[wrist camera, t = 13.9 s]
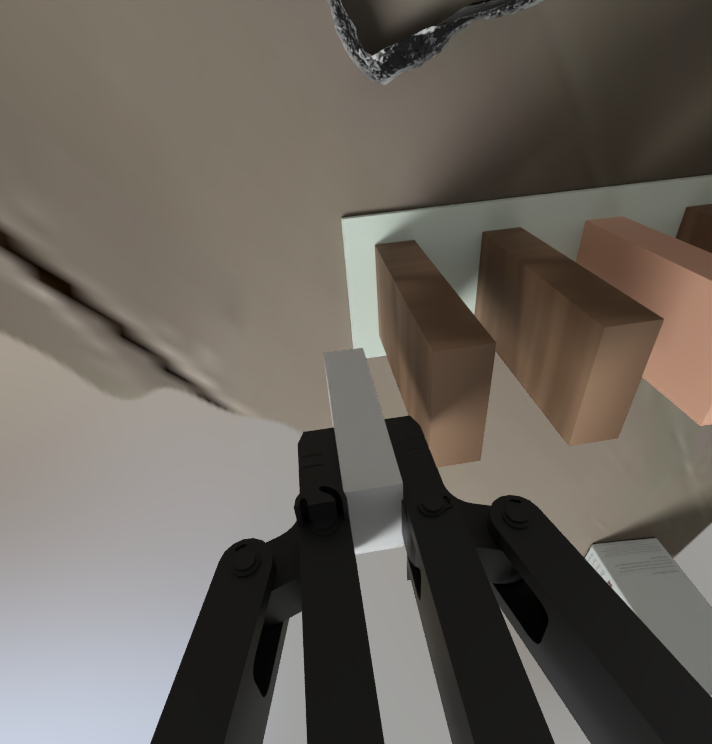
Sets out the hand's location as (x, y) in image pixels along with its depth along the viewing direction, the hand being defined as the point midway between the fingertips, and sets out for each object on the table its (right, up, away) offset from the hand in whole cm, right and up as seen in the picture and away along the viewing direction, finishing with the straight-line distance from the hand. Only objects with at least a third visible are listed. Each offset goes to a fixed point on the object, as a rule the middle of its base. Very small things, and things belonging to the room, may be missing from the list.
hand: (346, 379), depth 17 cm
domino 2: (+8, +5, +6) cm, 12 cm away
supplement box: (+26, -19, +27) cm, 42 cm away
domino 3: (+13, +6, +7) cm, 16 cm away
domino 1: (+2, +5, +6) cm, 8 cm away
